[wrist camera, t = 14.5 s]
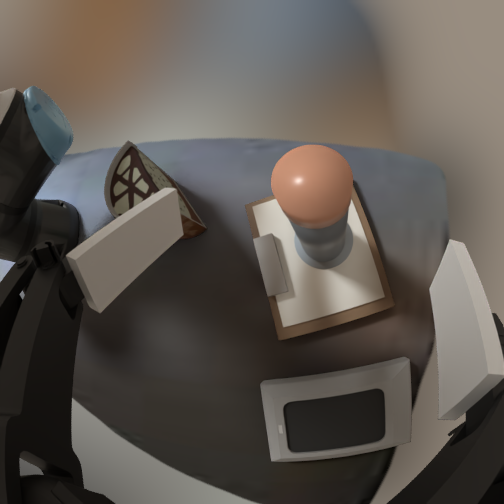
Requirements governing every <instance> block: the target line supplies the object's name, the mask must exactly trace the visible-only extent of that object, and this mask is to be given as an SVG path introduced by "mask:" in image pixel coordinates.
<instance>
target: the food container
mask: <svg viewBox="0 0 504 504" xmlns="http://www.w3.org/2000/svg"><path fill="white" fill-rule="evenodd" d="M164 188H175V189H177V195H178V202H179V209H180V215H181V222H182V228H183V234H184V235H183V236H182V237H180V238H179V239H189V238H193V237H195V236H197V235H199V234H201V233H203V232H204V231H205V230H207V227H206V226H205V225H204V223H203V222H202V220H201V219H200V217H199V216H198V214H197V213H196V212H195V210H194V209H193V207H192V206H191V204H190V203H189V201H188V200H187V198H186V197H185V195H184V194H183V192H182V191H181V190H180V188H179V187H178V185H177V184H176V182H175V181H174V180H173V179H172V178H171V177H170V176H169V175H167V174H166V173H165V172H164V171H163V170H162V169H161V168H159V167H158V166H157V165H156V164H155V163H154V162H153V161H151V160H150V159H149V158H148V157H147V156H146V155H145V154H143V153H142V152H141V151H140V150H139V149H138V148H137V146H136V145H134V144H133V143H132V142H130V141H127V142H126V143H125V144H124V145H123V146H122V147H121V149H120V150H119V151H118V153H117V154H116V156H115V157H114V159H113V161H112V163H111V165H110V168H109V170H108V173H107V176H106V180H105V187H104V195H105V201H106V205H107V207H108V209H109V210H110V212H111V214H112V215H113V216H114V218H115V219H116V218H118V217H119V216H121V215H122V214H124V213H125V212H127V211H128V210H130V209H132V208H133V207H135V206H136V205H138V204H139V203H141V202H142V201H144V200H146V199H147V198H149V197H150V196H152V195H154V194H155V193H157V192H159V191H160V190H162V189H164Z"/></svg>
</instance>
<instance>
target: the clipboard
mask: <svg viewBox="0 0 504 504" xmlns="http://www.w3.org/2000/svg"><path fill="white" fill-rule="evenodd" d="M245 208H246V212H247V216H248V220H249V223H250V227H251V231H252V235H253V241H254V245H255V249H256V253H257V256H258V260H259V264H260V268H261V272H262V276H263V280H264V284H265V288H266V292H267V296H268V299H269V303H270V307H271V311H272V315H273V319H274V323H275V327H276V331H277V335H278V339H279V341H280V340H284V339H288V338H292V337H296V336H300V335H304V334H307V333H311V332H315V331H319V330H322V329H326V328H329V327H333V326H336V325H339V324H343V323H346V322H349V321H352V320H355V319H359V318H362V317H365V316H368V315H371V314H374V313H377V312H380V311H383V310H385V309H388V308H391V307H394V306H395V305H394V301H393V297H392V294H391V290H390V287H389V283H388V280H387V277H386V273H385V270H384V267H383V264H382V261H381V258H380V255H379V252H378V249H377V246H376V243H375V240H374V237H373V234H372V232H371V229H370V226H369V224H368V221H367V218H366V216H365V213H364V211H363V208H362V206H361V203H360V201H359V198H358V196H357V193H356V191H355V189H354V186H353V188H352V198H351V203H350V206H349V212H348V221H347V229H346V237H345V245H344V248H343V250H342V252H341V253H340V254H339V255H338V256H337V257H336V258H335V259H333V260H330V261H326V262H320V261H316V260H313V259H312V258H310V257H309V256H308V255H307V254H306V253H305V251H304V249H303V247H302V245H301V243H300V241H299V239H298V237H297V235H296V233H295V231H294V229H293V227H292V225H291V223H290V221H289V219H288V218H287V217H286V215H285V214H284V213H283V211H282V209H281V207H280V205H279V204H278V202H277V200H276V198H275V196H274V195H273V196H270V197H267V198H264V199H261V200H258V201H255V202H252V203H249V204H247V205H245Z"/></svg>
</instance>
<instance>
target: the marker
mask: <svg viewBox="0 0 504 504" xmlns="http://www.w3.org/2000/svg"><path fill="white" fill-rule="evenodd" d="M271 187H272V191H273V194H274V196H275V198H276V200H277V202H278V204H279V205H280V207H281V209H282V211H283V213H284V214H285V215H286V217H287V218H288V219H289V221H290V223H291V225H292V227H293V229H294V231H295V233H296V235H297V237H298V239H299V241H300V243H301V245H302V247H303V249H304V251H305V253H306V254H307V255H308V256H309V257H310V258H312V259H313V260H316V261H320V262H326V261H330V260H333V259H335V258H336V257H337V256H338V255H339V254H340V253H341V252H342V250H343V248H344V245H345V237H346V229H347V221H348V212H349V206H350V203H351V198H352V188H353V175H352V171H351V168H350V166H349V164H348V162H347V161H346V160H345V158H344V157H343V156H342V155H340V154H339V153H338V152H336V151H335V150H333V149H331V148H328V147H325V146H321V145H305V146H301V147H297V148H295V149H293V150H291V151H289V152H288V153H286V154H285V155H284V156H283V157H282V158H281V159H280V160H279V161H278V162H277V164H276V166H275V168H274V170H273V173H272V177H271Z"/></svg>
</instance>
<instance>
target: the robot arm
mask: <svg viewBox="0 0 504 504" xmlns="http://www.w3.org/2000/svg"><path fill="white" fill-rule="evenodd" d="M72 142H73V131H72V128H71V126H70V124H69V122H68V120H67V118H66V117H65V115H64V114H63V112H62V111H61V110H60V109H59V107H58V106H57V105H56V104H55V102H54V101H53V100H52V99H51V98H50V97H49V96H48V95H47V94H46V93H45V92H44V91H43V90H41V89H38V88H37V87H36V86H31V87H29V88H28V89H26V90H25V91H24V93H21V92H19V91H18V90H16V89H15V88H11V89H8V90H5V91H3V92H0V259H4V260H8V261H12V262H16V263H15V264H14V265H13V266H12V268H11V269H10V270H9V272H8V273H7V274H6V276H5V277H4V278H3V280H2V281H1V282H0V504H115V503H114V502H112V501H111V500H110V499H108V498H107V497H106V496H104V495H103V494H99V493H95V492H92V491H89V490H87V489H84V484H83V478H82V477H83V476H82V469H81V464H80V461H79V459H78V457H77V456H76V454H75V453H74V451H73V448H72V441H71V408H72V387H73V374H74V364H75V355H76V347H77V340H78V334H79V327H80V322H81V316H82V311H83V304H82V302H81V300H82V299H83V298H84V297H85V299H86V301H87V303H88V305H89V307H90V308H92V309H93V310H95V311H97V312H99V313H101V312H102V311H103V310H104V309H105V308H106V307H107V306H108V305H109V304H110V303H111V302H112V301H113V300H114V299H115V298H116V297H117V296H118V295H119V294H120V293H121V292H122V291H123V290H124V289H125V288H126V287H127V286H128V285H129V284H130V283H131V282H133V281H134V280H135V279H136V278H137V277H138V276H139V275H140V274H141V273H142V272H143V271H144V270H145V269H146V268H147V267H148V266H150V265H151V264H152V263H153V262H154V261H155V260H156V259H157V258H158V257H159V256H160V255H161V254H163V253H164V252H165V251H166V250H167V249H168V248H169V247H170V246H171V245H173V244H174V243H175V242H176V241H177V240H178V239H179V238H180V237H182V236H183V235H184V234H183V228H182V222H181V215H180V209H179V202H178V195H177V189H175V188H164V189H162V190H160V191H159V192H157V193H155V194H154V195H152V196H150V197H149V198H147V199H146V200H144V201H142V202H141V203H139V204H138V205H136V206H135V207H133V208H132V209H130V210H128V211H127V212H125V213H124V214H122V215H121V216H119V217H118V218H116V219H115V220H113V221H112V222H111V223H109V224H108V225H106V226H105V227H103V228H102V229H100V230H99V231H98V232H96V233H95V234H93V235H92V236H91V237H89V238H88V239H87V240H85V241H84V242H83V243H81V244H80V245H79V246H77V247H76V245H77V241H78V234H79V218H78V213H77V211H76V209H75V207H74V206H73V205H72V204H69V203H67V202H65V201H62V200H42V199H35V196H36V195H37V193H38V192H39V190H40V189H41V187H42V186H43V184H44V183H45V181H46V180H47V178H48V177H49V176H50V174H51V173H52V171H53V170H54V169H55V167H56V166H57V165H59V164H60V162H61V159H62V157H63V156H64V154H65V153H66V152H67V150H68V149H69V148H70V146H71V144H72ZM22 290H23V292H24V294H25V296H24V299H23V300H22V298H21V296H20V295H19V294H20V293H21V291H22ZM429 290H430V296H431V302H432V309H433V316H434V324H435V333H436V343H437V356H438V376H439V377H438V378H439V405H438V420H456V419H458V418H459V417H460V416H461V415H463V414H464V413H465V412H466V421H465V422H464V423H462V424H461V425H459V426H458V427H457V428H455V429H454V430H452V431H451V432H450V433H449V434H448V435H449V436H450V435H452V434H454V435H453V436H452V437H451V438H450V440H449V441H448V442H447V443H446V445H445V446H444V447H443V448H442V449H441V451H440V452H439V453H438V454H437V455H436V456H435V458H434V459H433V460H432V461H431V462H430V463H429V464H428V465H427V466H426V467H425V468H424V470H422V471H421V473H419V474H418V476H417V477H416V478H414V480H412V481H411V482H410V483H409V484H408V485H407V486H406V487H405V488H404V489H403V490H402V491H401V492H400V493H398V494H397V495H396V496H395V497H394V498H393V499H392V500H390V501H389V502H388V503H387V504H504V327H503V324H502V323H501V321H500V319H499V318H498V316H497V315H496V314H495V313H491V310H490V306H489V303H488V301H487V298H486V295H485V292H484V289H483V287H482V284H481V282H480V279H479V277H478V274H477V272H476V270H475V267H474V265H473V262H472V260H471V258H470V256H469V253H468V251H467V249H466V247H465V245H464V243H461V242H457V241H454V240H449V243H448V246H447V248H446V251H445V254H444V256H443V259H442V261H441V263H440V266H439V268H438V271H437V273H436V275H435V277H434V280H433V282H432V284H431V286H430V288H429ZM19 458H21V459H23V460H25V461H27V462H29V463H31V464H33V465H35V466H37V467H39V468H40V469H41V470H42V472H43V474H44V475H24V476H20V469H19Z"/></svg>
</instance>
